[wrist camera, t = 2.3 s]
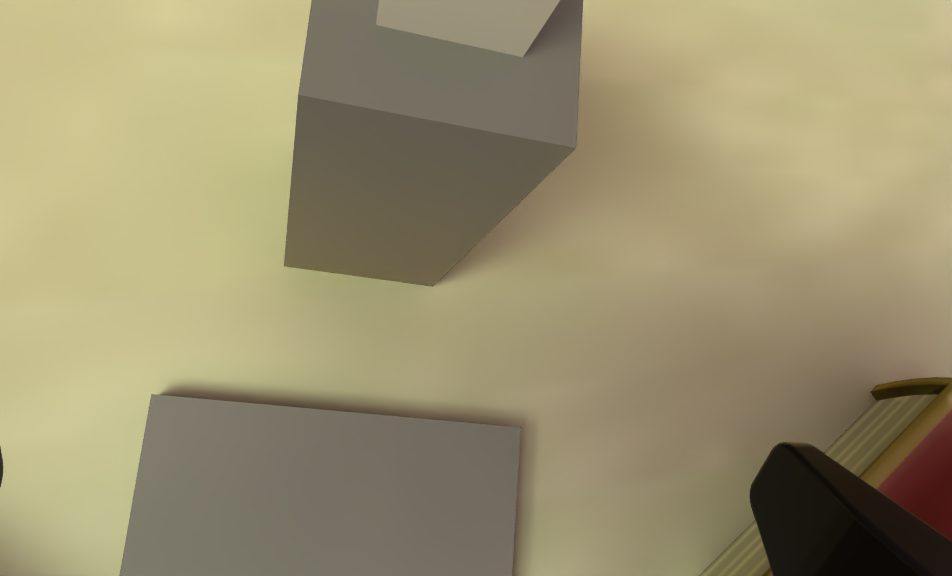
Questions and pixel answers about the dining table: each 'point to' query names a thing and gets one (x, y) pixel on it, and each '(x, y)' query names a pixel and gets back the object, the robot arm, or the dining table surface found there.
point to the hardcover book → (883, 463)
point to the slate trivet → (319, 493)
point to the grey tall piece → (425, 128)
